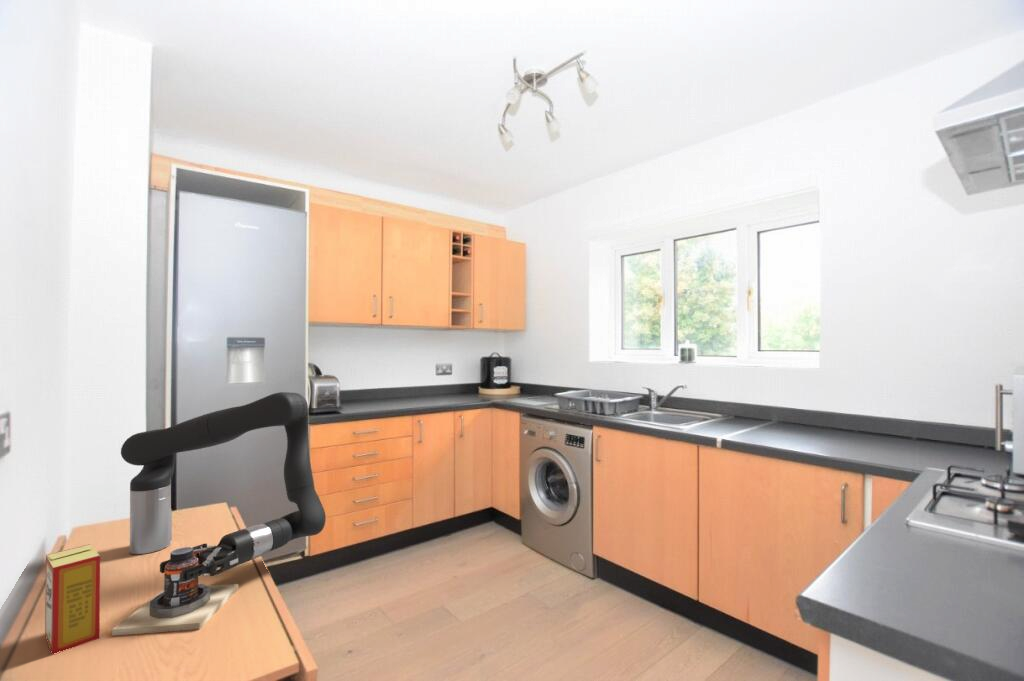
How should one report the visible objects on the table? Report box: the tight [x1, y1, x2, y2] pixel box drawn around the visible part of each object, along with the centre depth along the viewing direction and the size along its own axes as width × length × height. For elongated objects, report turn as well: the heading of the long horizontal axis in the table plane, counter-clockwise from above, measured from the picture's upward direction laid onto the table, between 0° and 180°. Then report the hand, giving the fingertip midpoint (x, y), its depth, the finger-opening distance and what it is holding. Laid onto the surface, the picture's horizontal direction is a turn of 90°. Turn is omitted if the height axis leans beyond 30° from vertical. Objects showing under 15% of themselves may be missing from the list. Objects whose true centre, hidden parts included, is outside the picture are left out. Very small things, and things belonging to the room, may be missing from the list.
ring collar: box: [150, 583, 211, 619], centre depth 100 cm, size 10×10×2 cm
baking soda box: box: [44, 544, 101, 655], centre depth 91 cm, size 10×6×16 cm
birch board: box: [111, 583, 239, 636], centre depth 100 cm, size 16×16×1 cm
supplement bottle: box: [163, 546, 199, 606], centre depth 100 cm, size 6×6×11 cm
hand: (170, 572), depth 98 cm, fingers open, 8 cm apart
